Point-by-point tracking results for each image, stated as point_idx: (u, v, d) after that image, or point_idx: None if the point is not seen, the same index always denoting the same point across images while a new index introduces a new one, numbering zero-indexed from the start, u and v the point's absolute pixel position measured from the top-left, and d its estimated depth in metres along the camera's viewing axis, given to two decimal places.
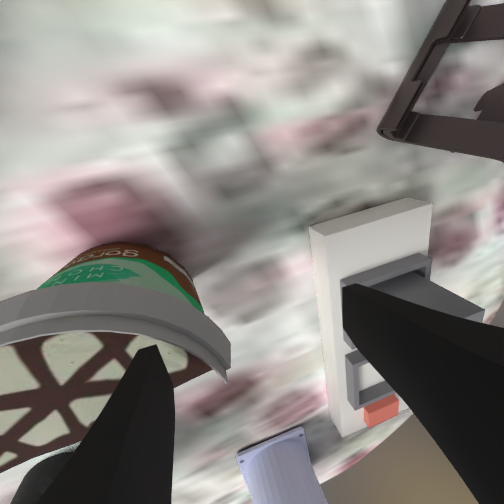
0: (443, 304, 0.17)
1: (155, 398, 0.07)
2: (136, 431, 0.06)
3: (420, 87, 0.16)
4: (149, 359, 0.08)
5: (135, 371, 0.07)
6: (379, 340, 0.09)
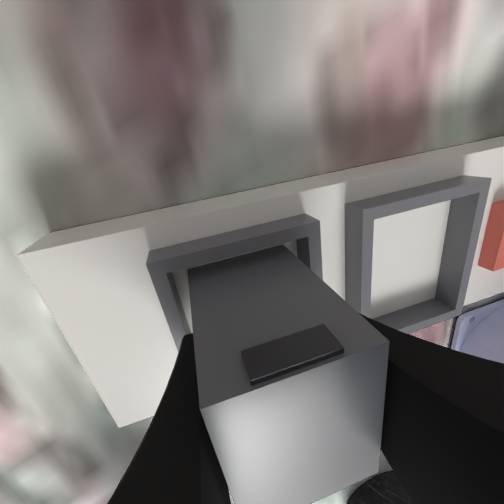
0: None
1: None
2: None
3: None
4: None
5: (189, 354, 0.08)
6: None
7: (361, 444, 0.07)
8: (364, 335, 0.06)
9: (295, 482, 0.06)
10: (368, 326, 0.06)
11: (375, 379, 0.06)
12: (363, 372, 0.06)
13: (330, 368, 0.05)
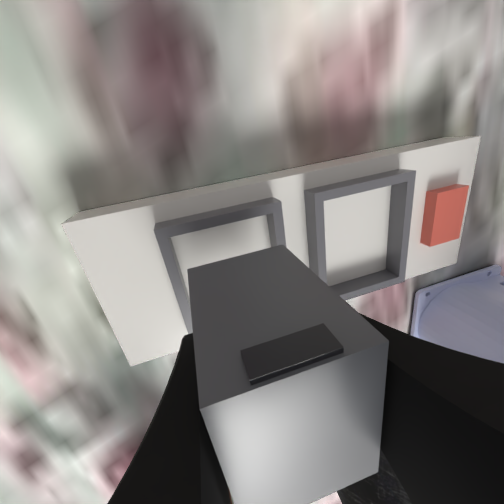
0: None
1: None
2: None
3: None
4: None
5: (189, 354, 0.08)
6: None
7: (361, 444, 0.07)
8: (363, 334, 0.06)
9: (295, 481, 0.06)
10: (367, 326, 0.06)
11: (375, 378, 0.06)
12: (362, 372, 0.06)
13: (330, 368, 0.05)
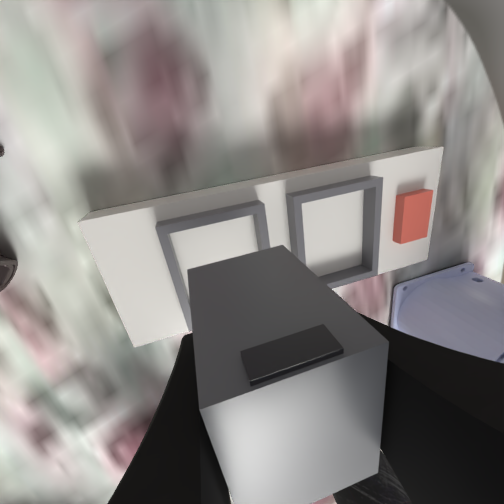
0: None
1: None
2: None
3: None
4: None
5: (189, 354, 0.08)
6: None
7: (360, 445, 0.07)
8: (364, 336, 0.06)
9: (295, 482, 0.06)
10: (367, 327, 0.06)
11: (375, 379, 0.06)
12: (362, 373, 0.06)
13: (330, 369, 0.05)
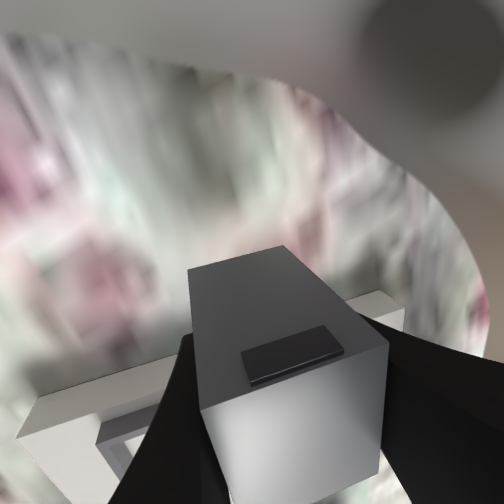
0: None
1: None
2: None
3: None
4: None
5: (189, 354, 0.08)
6: None
7: (361, 445, 0.07)
8: (364, 336, 0.06)
9: (295, 483, 0.06)
10: (368, 327, 0.06)
11: (375, 380, 0.06)
12: (362, 374, 0.06)
13: (330, 369, 0.05)
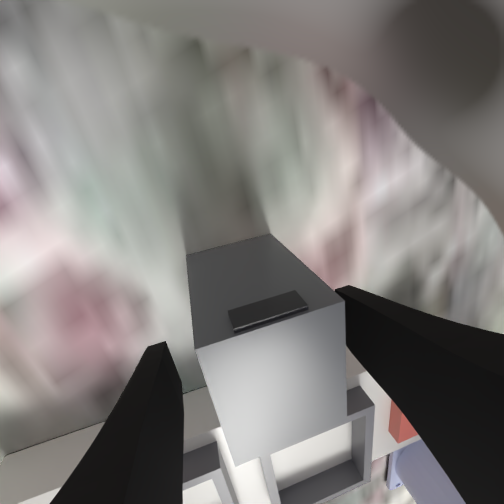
0: None
1: (166, 394, 0.07)
2: (150, 426, 0.06)
3: None
4: (159, 356, 0.08)
5: (146, 367, 0.07)
6: (371, 343, 0.08)
7: (329, 392, 0.08)
8: (326, 297, 0.07)
9: (274, 422, 0.08)
10: (330, 291, 0.07)
11: (336, 333, 0.07)
12: (325, 326, 0.07)
13: (297, 322, 0.07)
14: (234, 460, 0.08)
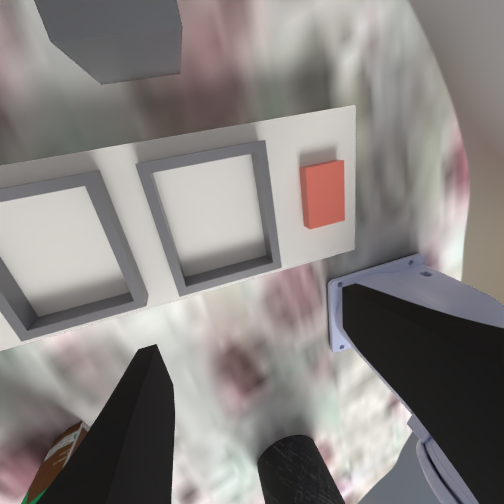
0: None
1: (155, 398, 0.07)
2: (136, 431, 0.06)
3: None
4: (149, 359, 0.08)
5: (135, 371, 0.07)
6: (379, 340, 0.09)
7: None
8: None
9: None
10: None
11: None
12: None
13: None
14: (46, 27, 0.08)
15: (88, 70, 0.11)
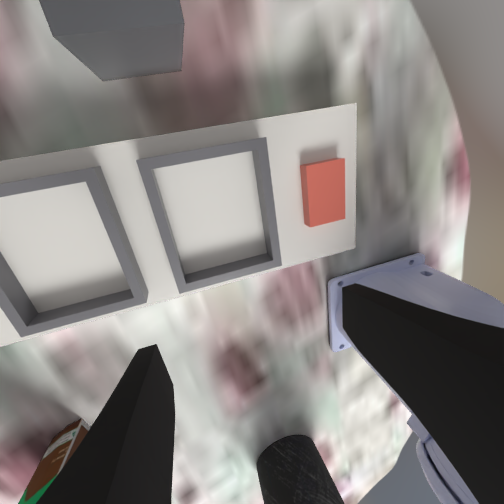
0: None
1: (155, 398, 0.07)
2: (136, 431, 0.06)
3: None
4: (149, 359, 0.08)
5: (135, 371, 0.07)
6: (379, 340, 0.09)
7: None
8: None
9: None
10: None
11: None
12: None
13: None
14: (49, 21, 0.08)
15: (90, 66, 0.11)
